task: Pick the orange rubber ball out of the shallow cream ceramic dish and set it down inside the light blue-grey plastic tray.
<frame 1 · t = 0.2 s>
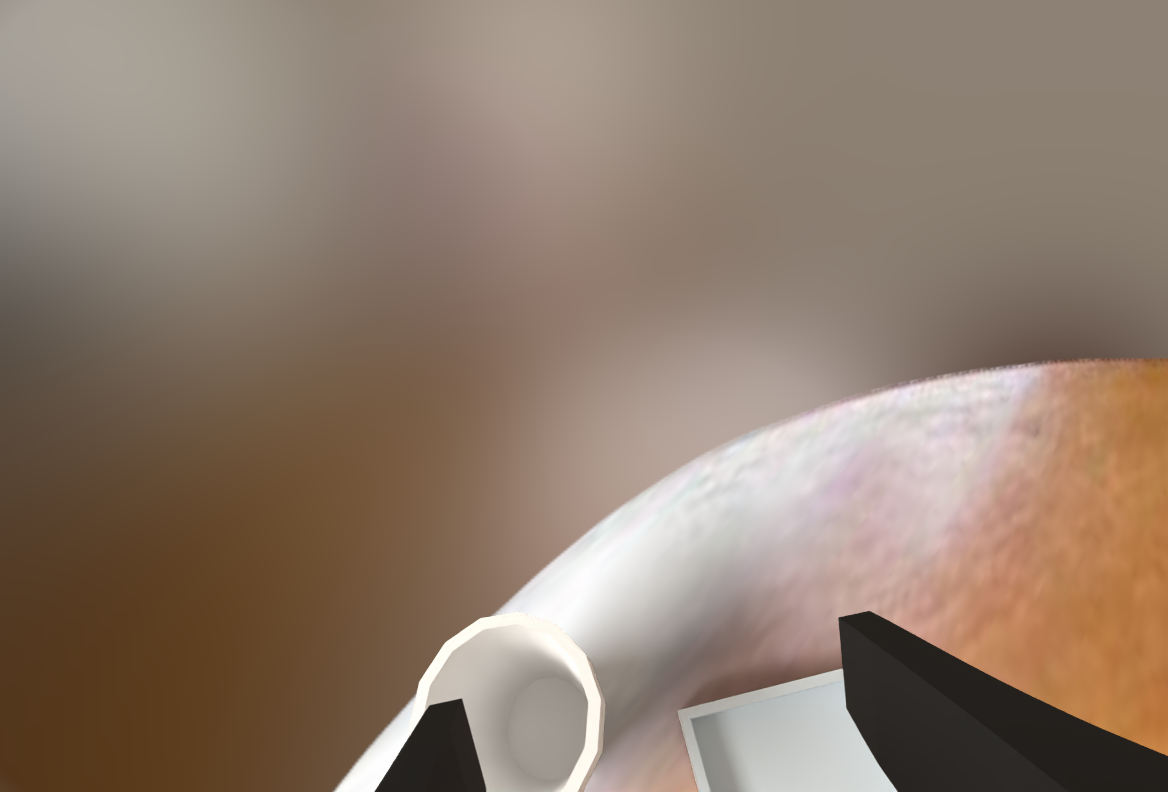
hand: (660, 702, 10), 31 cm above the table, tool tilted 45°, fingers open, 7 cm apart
foam cup: (552, 727, 37), on the table
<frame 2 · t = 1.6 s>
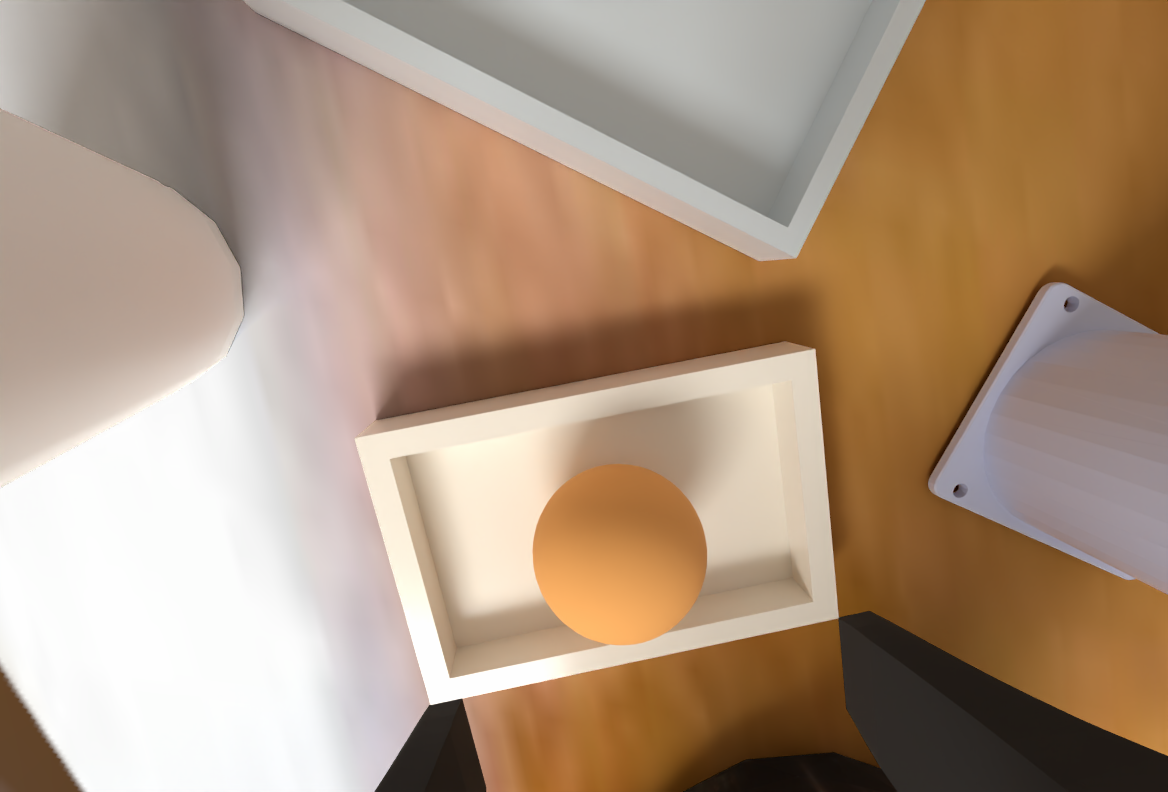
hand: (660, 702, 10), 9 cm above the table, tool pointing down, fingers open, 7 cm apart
dish: (606, 508, 19), on the table
foam cup: (137, 286, 16), on the table
ball: (618, 550, 16), point 3 cm above the table, touching dish
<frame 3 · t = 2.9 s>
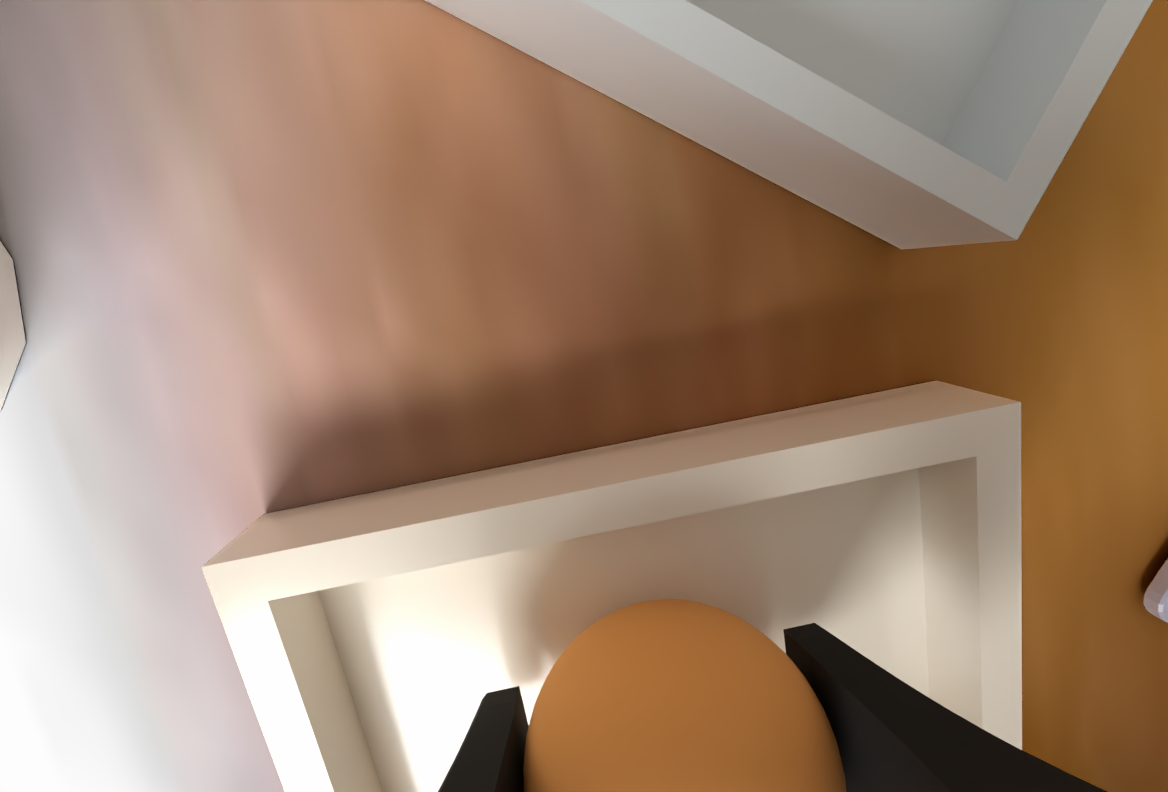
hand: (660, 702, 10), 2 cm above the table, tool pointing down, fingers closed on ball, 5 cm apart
dish: (643, 643, 12), on the table
ball: (677, 762, 9), point 3 cm above the table, touching dish, gripper
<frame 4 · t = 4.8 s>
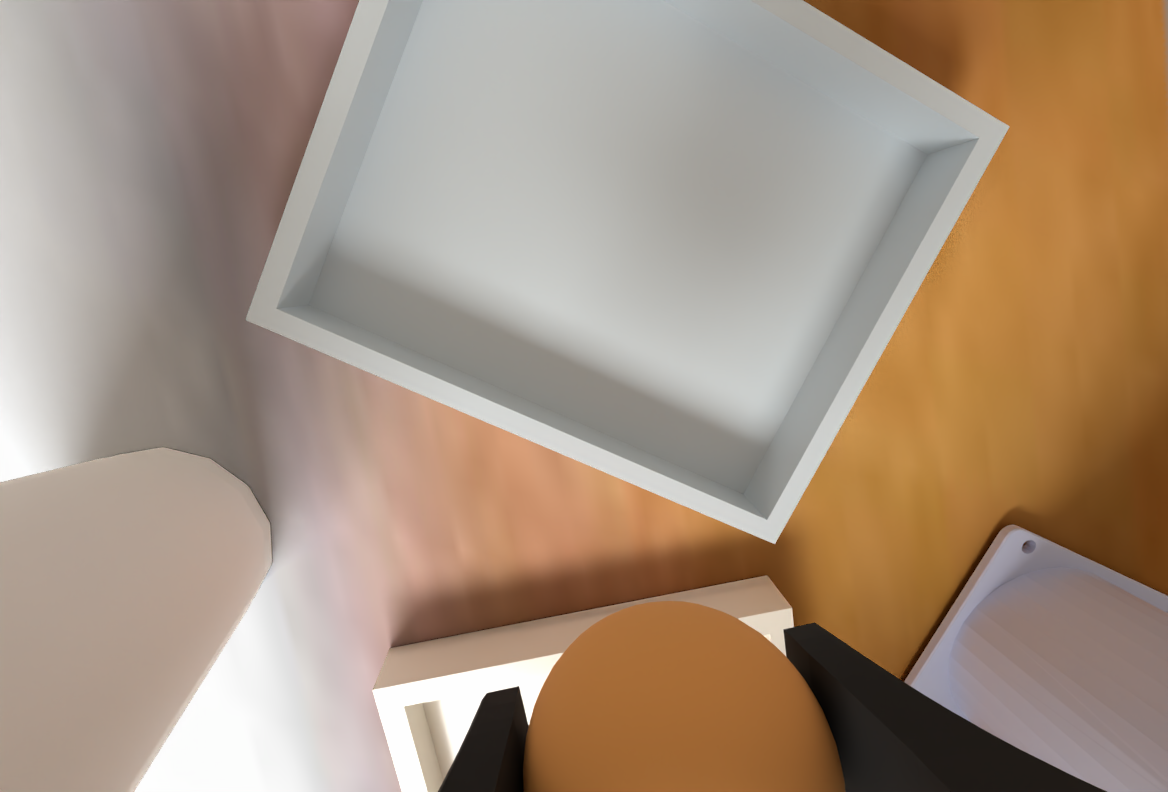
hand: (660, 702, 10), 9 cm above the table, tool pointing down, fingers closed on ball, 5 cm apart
dish: (601, 718, 20), on the table
foam cup: (175, 537, 18), on the table
ball: (676, 764, 9), point 10 cm above the table, touching gripper
tray: (619, 230, 17), on the table
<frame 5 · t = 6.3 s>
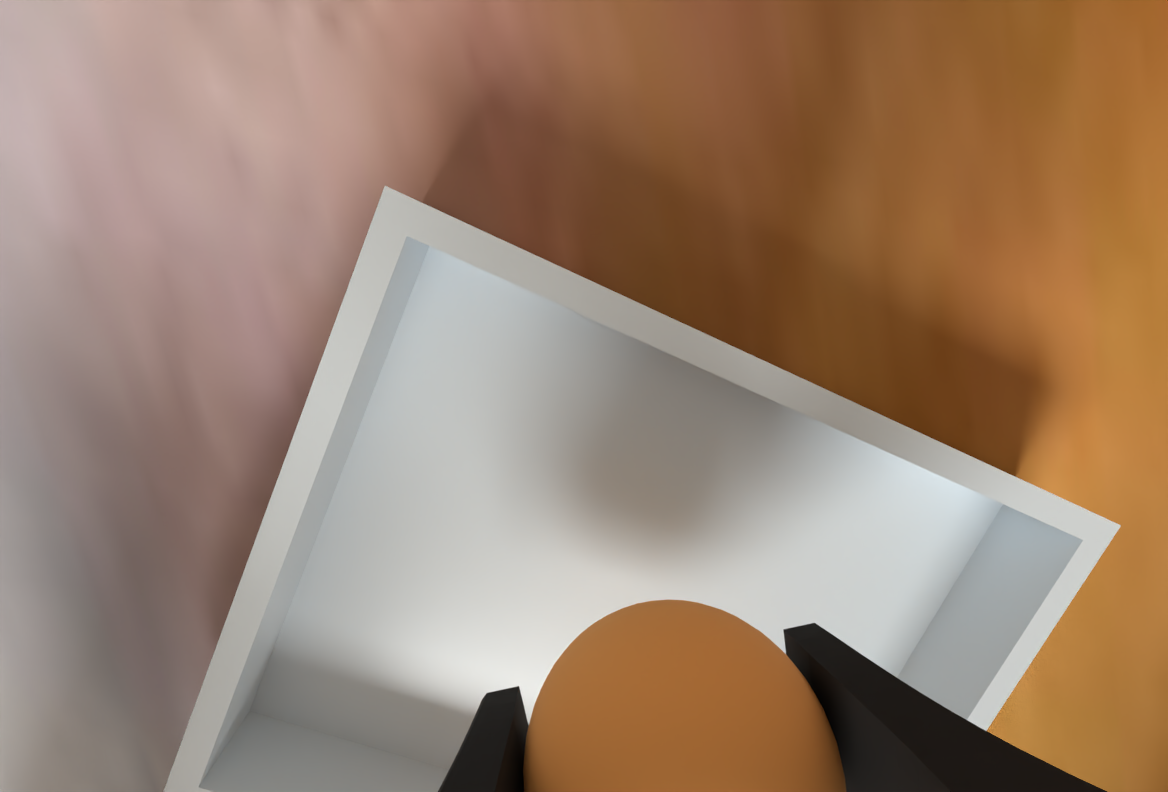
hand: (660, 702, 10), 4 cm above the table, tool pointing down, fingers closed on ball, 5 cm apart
ball: (677, 763, 9), point 5 cm above the table, touching gripper
tray: (629, 591, 14), on the table
when the fingers open (3 cm above the table, at t = 7.2 s): ball drops 1 cm, resting on tray.
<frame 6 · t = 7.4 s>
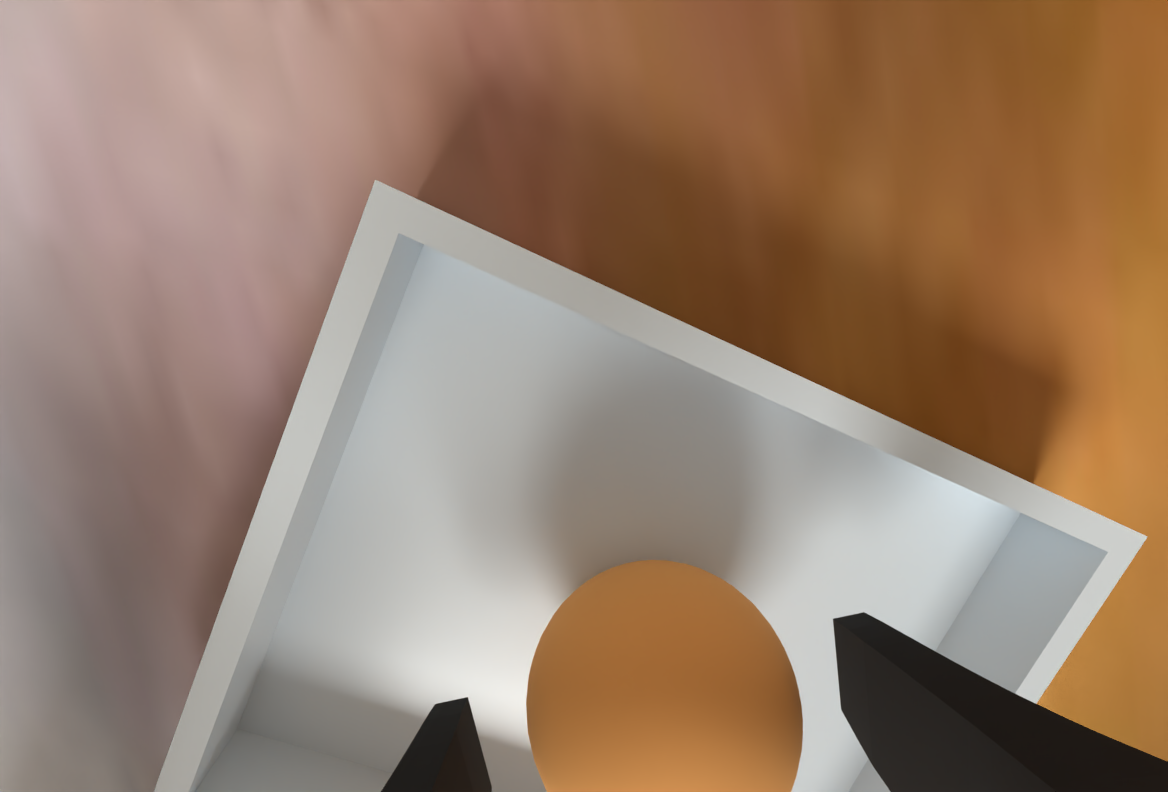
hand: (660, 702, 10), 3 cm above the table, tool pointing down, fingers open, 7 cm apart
ball: (659, 698, 10), point 3 cm above the table, touching tray
tray: (632, 603, 13), on the table
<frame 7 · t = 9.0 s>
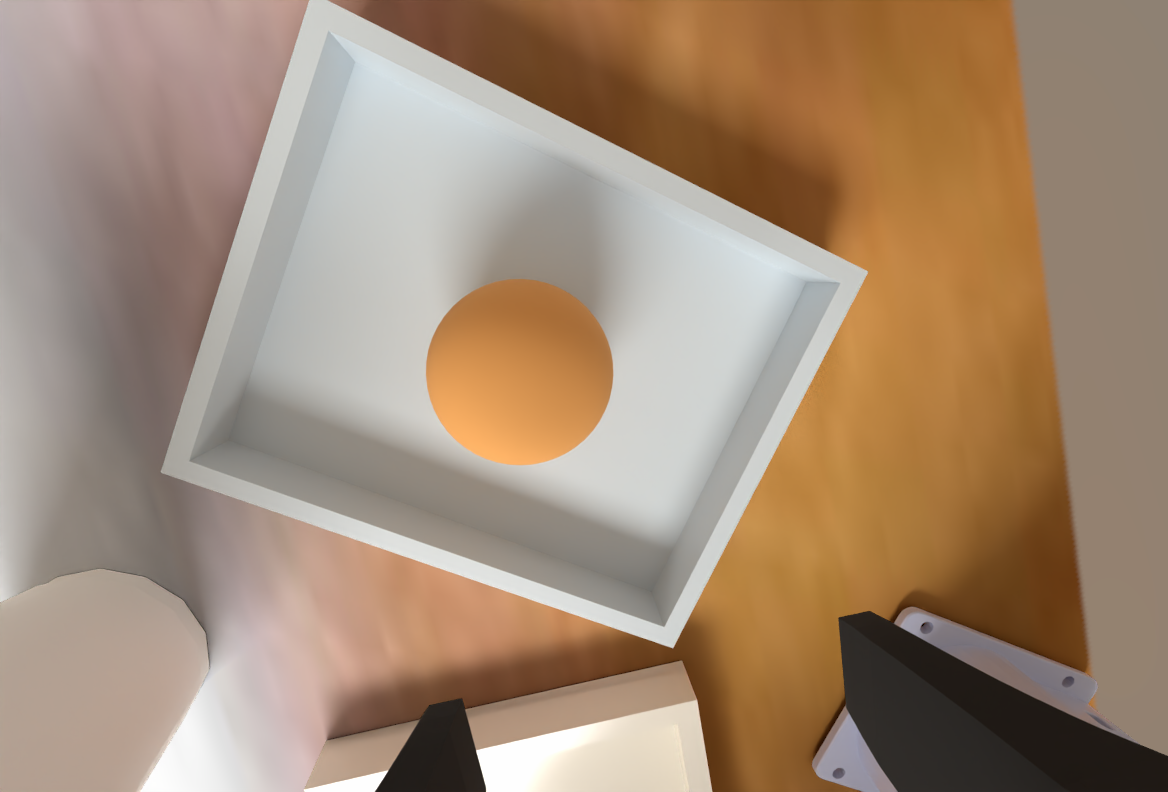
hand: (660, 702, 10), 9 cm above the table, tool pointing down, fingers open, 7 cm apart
foam cup: (117, 648, 19), on the table
ball: (521, 372, 15), point 3 cm above the table, touching tray
tray: (522, 357, 18), on the table
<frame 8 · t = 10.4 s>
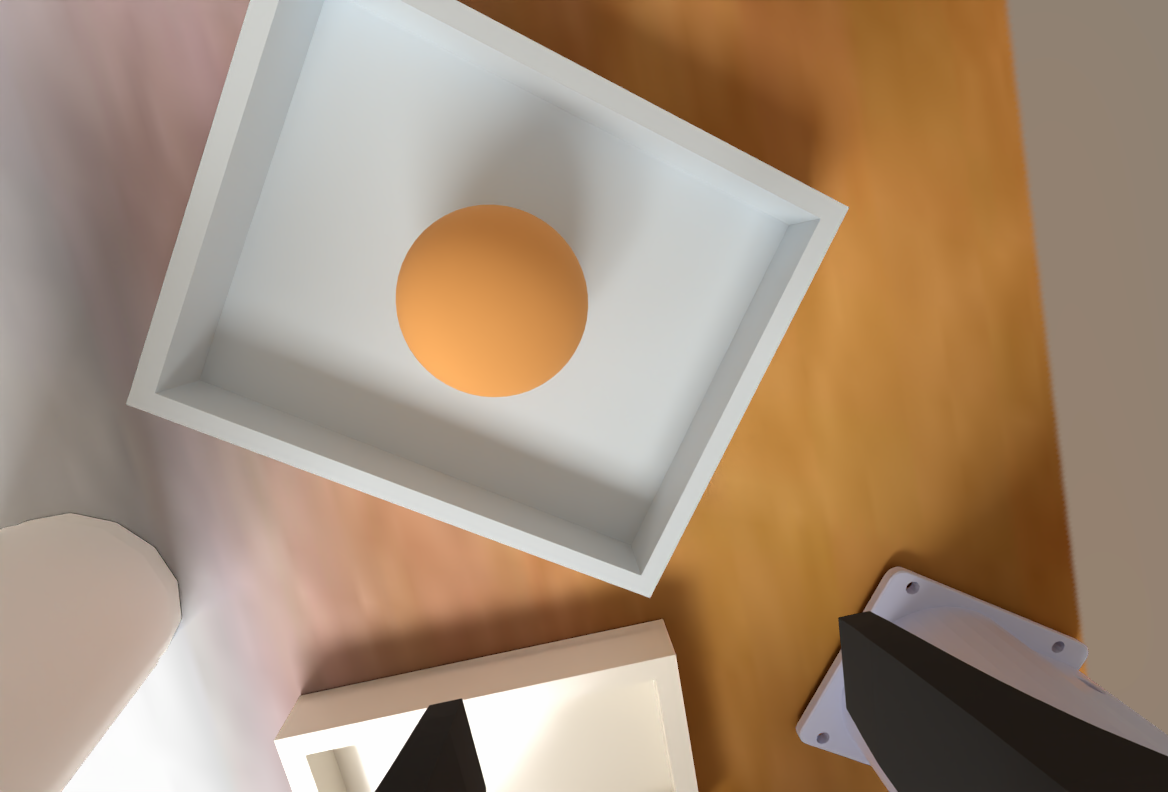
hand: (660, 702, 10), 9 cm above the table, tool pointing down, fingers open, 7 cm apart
dish: (509, 756, 21), on the table
foam cup: (87, 596, 19), on the table
ball: (494, 303, 15), point 3 cm above the table, touching tray
tray: (499, 300, 18), on the table
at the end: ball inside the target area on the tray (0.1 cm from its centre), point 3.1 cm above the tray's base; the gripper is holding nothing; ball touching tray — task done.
